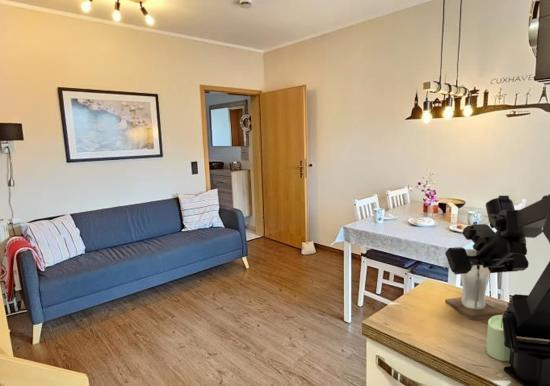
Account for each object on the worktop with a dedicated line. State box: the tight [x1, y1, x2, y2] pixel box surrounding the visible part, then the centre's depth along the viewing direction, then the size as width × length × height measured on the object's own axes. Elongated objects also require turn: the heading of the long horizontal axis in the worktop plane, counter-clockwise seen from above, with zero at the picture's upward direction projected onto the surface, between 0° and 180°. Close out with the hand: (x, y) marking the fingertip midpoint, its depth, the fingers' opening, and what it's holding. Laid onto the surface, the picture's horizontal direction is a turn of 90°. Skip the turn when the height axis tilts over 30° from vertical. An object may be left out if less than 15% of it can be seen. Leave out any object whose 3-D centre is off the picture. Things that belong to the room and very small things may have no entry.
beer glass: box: [460, 248, 491, 311], centre depth 93 cm, size 7×7×15 cm
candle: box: [485, 314, 510, 362], centre depth 74 cm, size 5×5×8 cm
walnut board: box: [444, 296, 503, 321], centre depth 94 cm, size 10×9×1 cm
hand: (471, 272), depth 94 cm, fingers open, 9 cm apart
